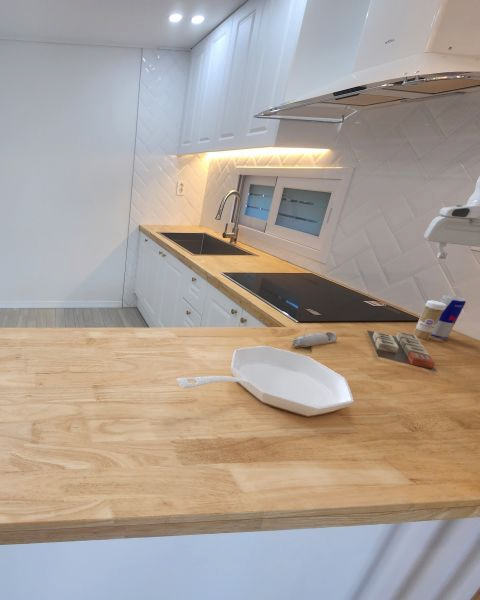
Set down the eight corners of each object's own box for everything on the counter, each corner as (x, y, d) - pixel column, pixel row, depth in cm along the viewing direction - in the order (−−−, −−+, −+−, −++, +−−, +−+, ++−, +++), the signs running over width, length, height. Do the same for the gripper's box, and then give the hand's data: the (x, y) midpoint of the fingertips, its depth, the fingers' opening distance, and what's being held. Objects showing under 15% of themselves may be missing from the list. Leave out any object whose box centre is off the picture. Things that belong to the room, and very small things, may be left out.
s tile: (427, 362, 99) (430, 355, 98) (432, 368, 95) (435, 362, 94) (407, 357, 101) (410, 351, 100) (411, 363, 97) (414, 357, 96)
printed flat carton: (413, 340, 112) (415, 334, 111) (426, 360, 99) (430, 354, 99) (395, 336, 114) (398, 331, 113) (406, 355, 101) (409, 349, 101)
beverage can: (431, 339, 115) (451, 298, 110) (420, 332, 120) (438, 293, 115) (450, 342, 114) (471, 301, 108) (438, 334, 119) (458, 295, 113)
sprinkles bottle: (414, 339, 114) (431, 303, 109) (408, 334, 118) (425, 298, 113) (431, 342, 113) (450, 306, 108) (425, 337, 117) (442, 301, 112)
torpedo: (324, 338, 112) (331, 320, 109) (338, 345, 108) (345, 326, 105) (284, 344, 106) (290, 326, 104) (298, 352, 102) (304, 333, 99)
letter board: (414, 343, 112) (415, 340, 112) (435, 373, 94) (437, 371, 94) (366, 332, 118) (366, 330, 118) (377, 358, 100) (378, 356, 100)
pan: (371, 412, 77) (382, 389, 75) (211, 448, 64) (218, 421, 62) (280, 355, 100) (286, 336, 97) (149, 373, 87) (152, 352, 85)
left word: (389, 340, 111) (392, 335, 110) (396, 353, 103) (399, 347, 102) (372, 336, 113) (374, 331, 112) (377, 348, 105) (380, 342, 104)
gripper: (536, 215, 90) (509, 265, 95) (433, 207, 100) (414, 253, 105) (550, 218, 85) (520, 270, 90) (440, 209, 95) (419, 257, 100)
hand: (462, 261), depth 98 cm, fingers open, 8 cm apart
